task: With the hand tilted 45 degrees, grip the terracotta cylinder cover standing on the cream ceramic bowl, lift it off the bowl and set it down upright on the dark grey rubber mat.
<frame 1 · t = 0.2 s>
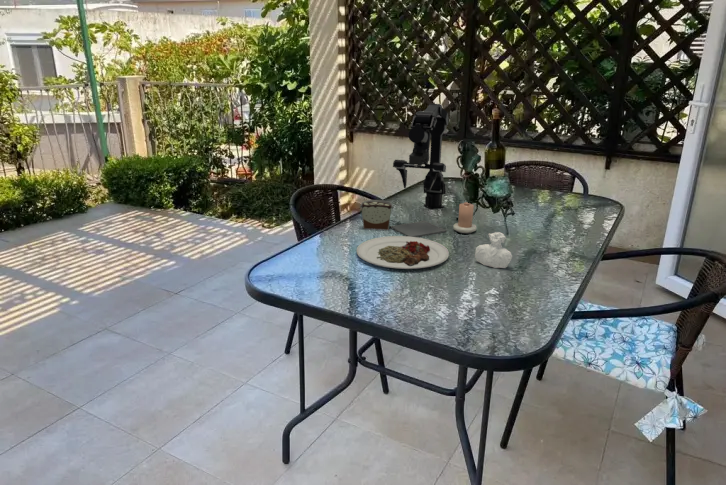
hand: (417, 189, 195), 15 cm above the table, tool tilted 15°, fingers open, 9 cm apart
plated food: (402, 256, 173), on the table
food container: (376, 227, 202), on the table
terracotta cover: (464, 225, 198), point 2 cm above the table, touching cream ceramic bowl
rubber mat: (417, 229, 199), on the table
cream ceramic bowl: (464, 230, 199), on the table
white tied sack: (493, 264, 167), on the table
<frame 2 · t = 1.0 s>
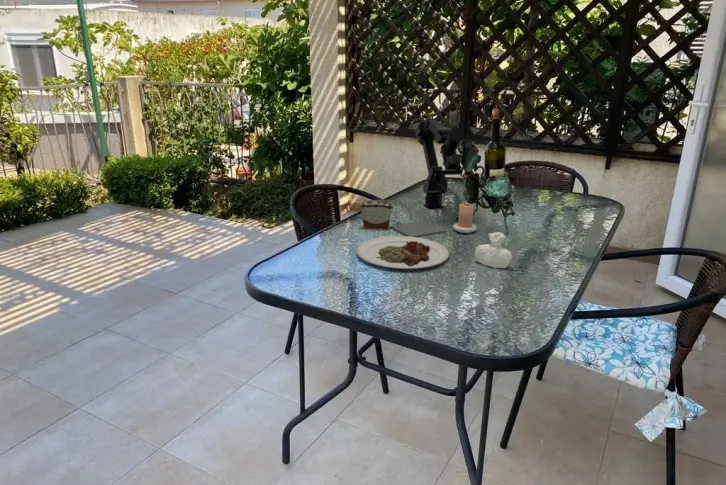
hand: (457, 191, 202), 13 cm above the table, tool tilted 45°, fingers open, 9 cm apart
nothing on the table moved.
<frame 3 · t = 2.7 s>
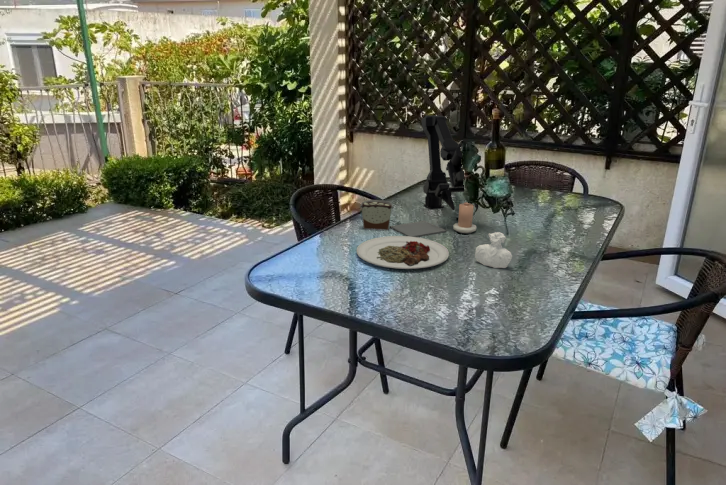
hand: (465, 209, 196), 8 cm above the table, tool tilted 45°, fingers open, 9 cm apart
nothing on the table moved.
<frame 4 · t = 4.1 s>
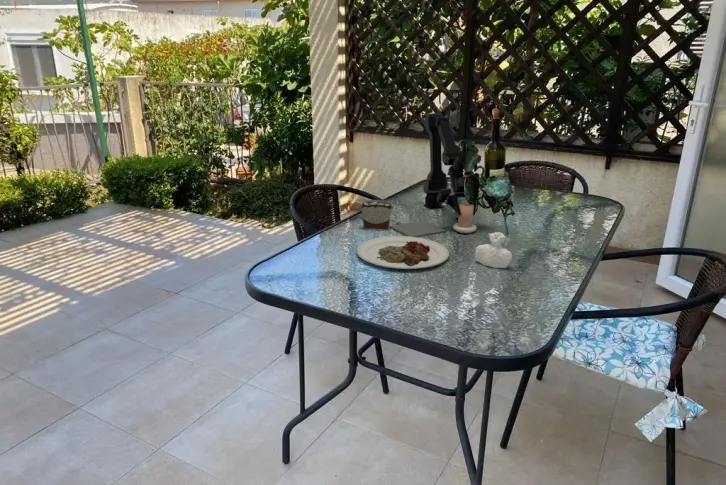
hand: (467, 214, 195), 7 cm above the table, tool tilted 45°, fingers closed on terracotta cover, 5 cm apart
terracotta cover: (464, 225, 198), point 2 cm above the table, touching cream ceramic bowl, gripper
everything else where it was.
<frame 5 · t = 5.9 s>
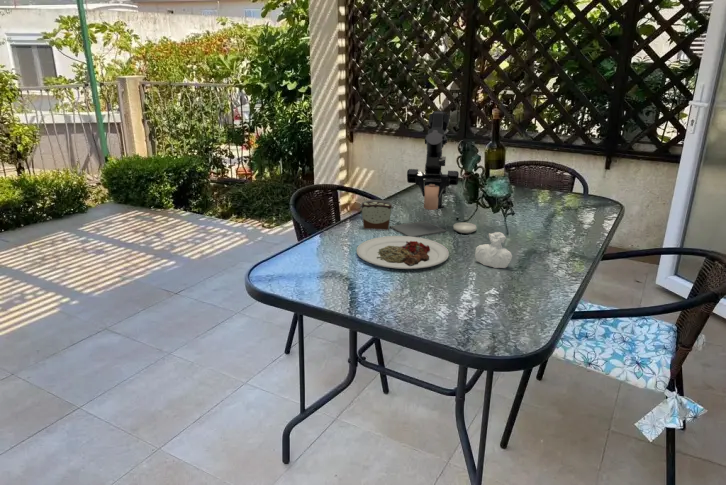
hand: (431, 196, 192), 13 cm above the table, tool tilted 45°, fingers closed on terracotta cover, 5 cm apart
terracotta cover: (430, 207, 195), point 9 cm above the table, touching gripper
everything else where it was.
when the fingers open (7 cm above the table, at t = 7.9 s): terracotta cover drops 1 cm, resting on rubber mat.
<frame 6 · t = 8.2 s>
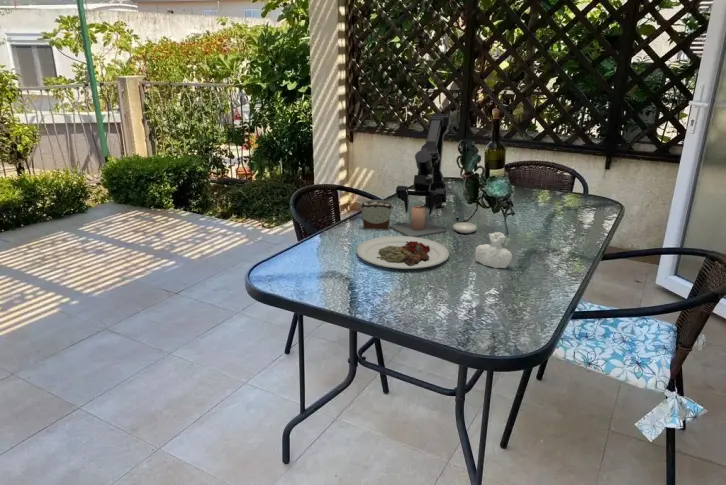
hand: (417, 213, 196), 7 cm above the table, tool tilted 45°, fingers open, 8 cm apart
terracotta cover: (417, 228, 199), point 1 cm above the table, touching rubber mat
everything else where it was.
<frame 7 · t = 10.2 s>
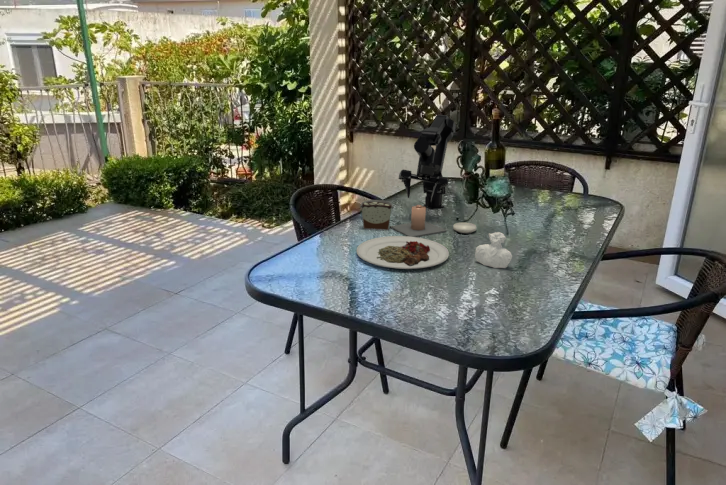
hand: (419, 199, 206), 9 cm above the table, tool tilted 30°, fingers open, 9 cm apart
nothing on the table moved.
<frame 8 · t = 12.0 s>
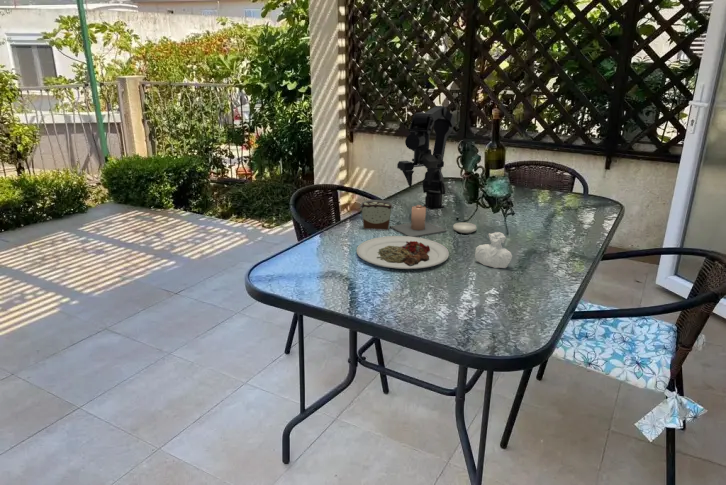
hand: (419, 185, 211), 13 cm above the table, tool pointing down, fingers open, 9 cm apart
nothing on the table moved.
at the end: terracotta cover inside the target area on the rubber mat (0.0 cm from its centre), point 0.6 cm above the rubber mat's base; terracotta cover tilted 0°; the gripper is holding nothing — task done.
